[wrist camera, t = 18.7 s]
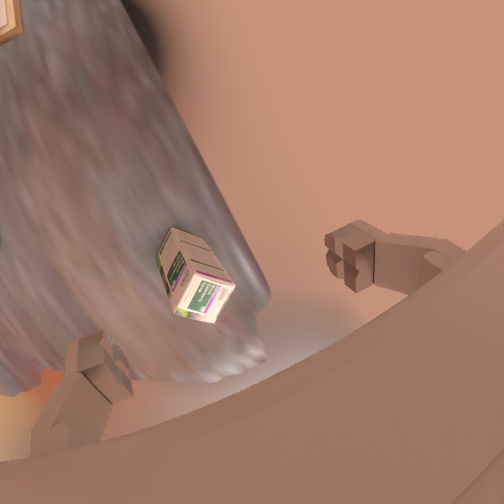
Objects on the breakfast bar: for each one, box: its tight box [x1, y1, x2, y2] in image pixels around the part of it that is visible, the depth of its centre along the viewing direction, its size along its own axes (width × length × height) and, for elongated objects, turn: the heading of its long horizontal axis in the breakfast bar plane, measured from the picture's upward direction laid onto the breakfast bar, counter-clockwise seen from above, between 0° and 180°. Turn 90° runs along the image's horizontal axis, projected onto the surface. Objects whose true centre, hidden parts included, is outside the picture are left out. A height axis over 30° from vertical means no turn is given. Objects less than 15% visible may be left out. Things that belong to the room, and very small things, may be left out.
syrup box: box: [156, 227, 235, 323], centre depth 40 cm, size 6×6×14 cm
